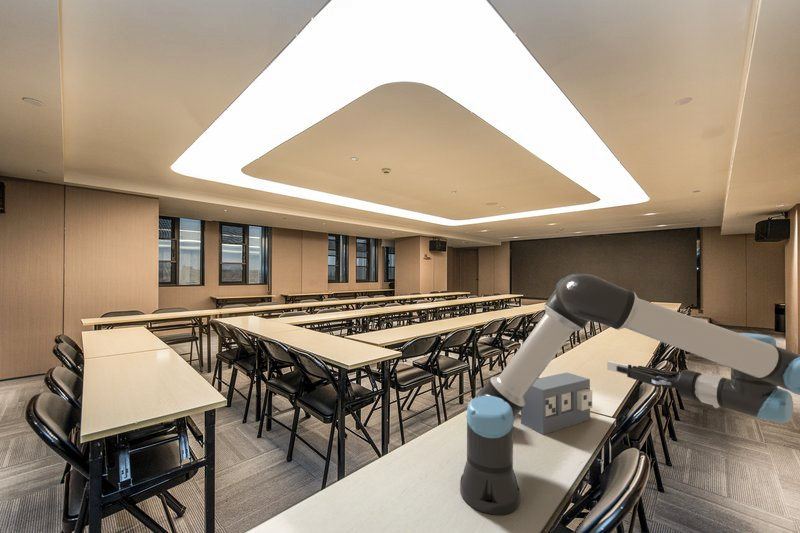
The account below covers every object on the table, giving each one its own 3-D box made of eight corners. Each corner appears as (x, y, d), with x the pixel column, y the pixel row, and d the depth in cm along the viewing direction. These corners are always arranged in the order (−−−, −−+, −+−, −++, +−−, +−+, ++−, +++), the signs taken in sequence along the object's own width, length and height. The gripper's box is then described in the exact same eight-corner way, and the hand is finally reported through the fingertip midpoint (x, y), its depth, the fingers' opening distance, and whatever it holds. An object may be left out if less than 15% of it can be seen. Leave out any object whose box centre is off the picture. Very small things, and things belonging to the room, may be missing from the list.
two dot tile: (582, 411, 124) (582, 393, 124) (574, 407, 127) (574, 390, 127) (593, 407, 127) (593, 390, 127) (585, 404, 130) (584, 388, 130)
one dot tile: (560, 412, 122) (560, 395, 122) (553, 409, 125) (553, 392, 125) (571, 409, 125) (571, 392, 126) (564, 406, 128) (563, 389, 128)
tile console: (543, 434, 117) (543, 390, 117) (520, 423, 125) (520, 381, 126) (590, 419, 130) (589, 379, 130) (567, 410, 139) (566, 372, 139)
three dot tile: (544, 417, 118) (544, 399, 118) (537, 413, 121) (537, 396, 121) (556, 413, 121) (556, 396, 121) (548, 410, 124) (548, 393, 124)
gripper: (689, 406, 83) (596, 379, 104) (711, 397, 89) (619, 374, 110) (689, 376, 83) (596, 355, 104) (711, 370, 89) (619, 351, 110)
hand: (608, 365), depth 107 cm, fingers closed
